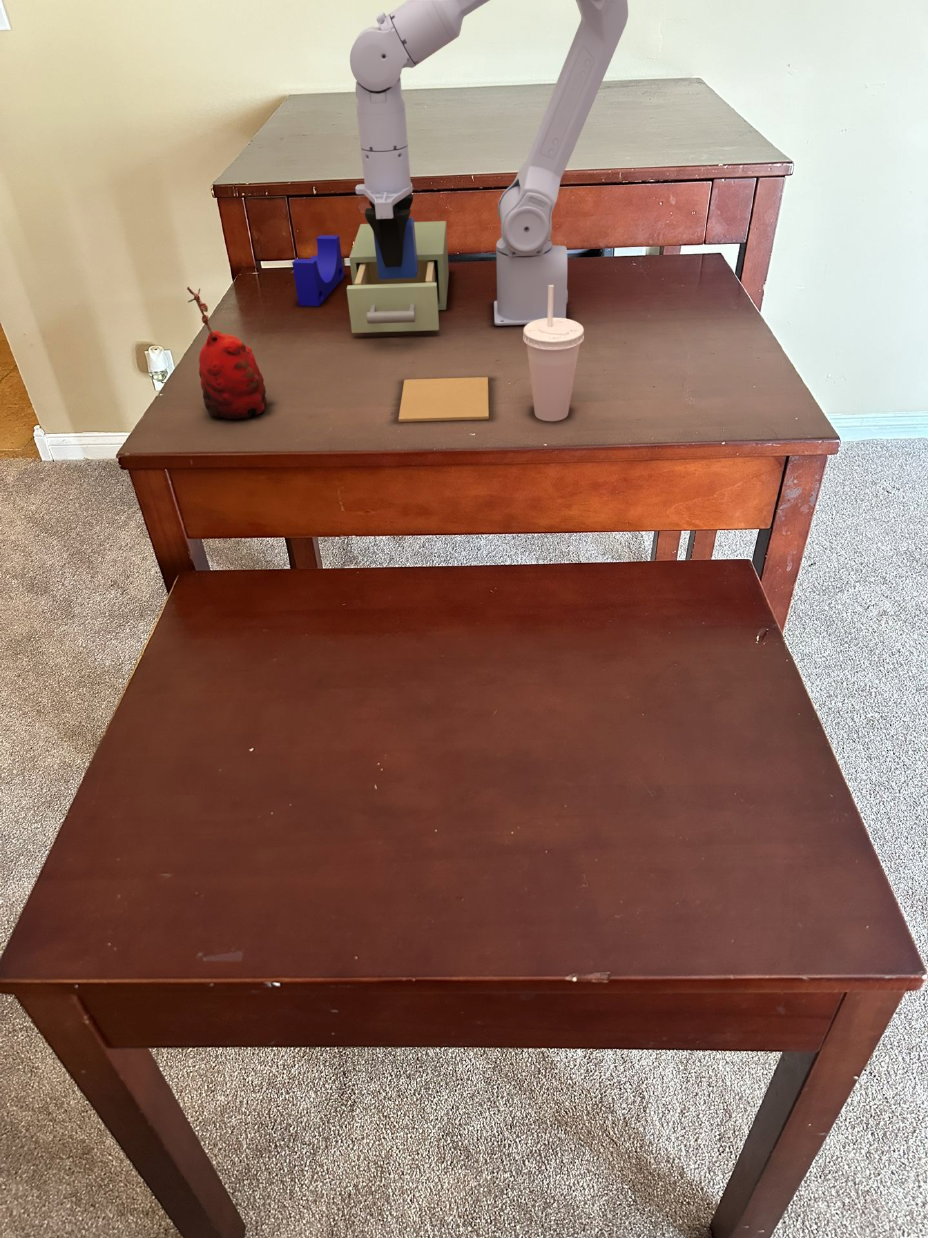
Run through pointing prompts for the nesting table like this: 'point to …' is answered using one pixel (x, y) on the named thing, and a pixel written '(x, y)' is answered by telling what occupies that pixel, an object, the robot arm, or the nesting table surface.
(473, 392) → the mat
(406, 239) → the blue rectangular block
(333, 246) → the cable clip
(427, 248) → the cabinet
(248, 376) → the red clay folk toy
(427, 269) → the drawer
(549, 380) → the smoothie
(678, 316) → the nesting table surface
